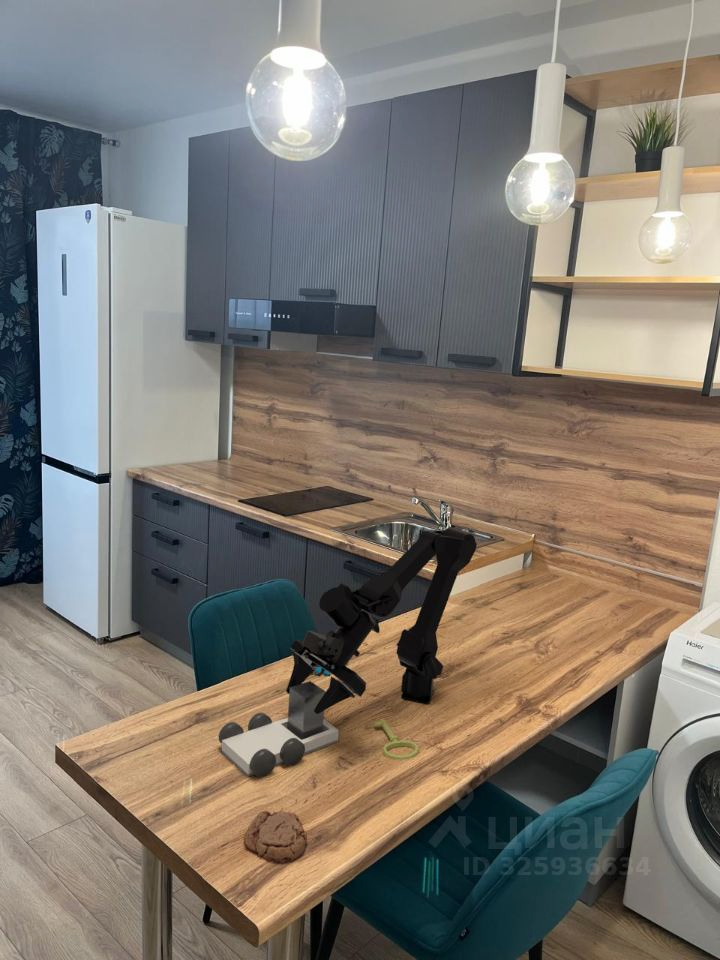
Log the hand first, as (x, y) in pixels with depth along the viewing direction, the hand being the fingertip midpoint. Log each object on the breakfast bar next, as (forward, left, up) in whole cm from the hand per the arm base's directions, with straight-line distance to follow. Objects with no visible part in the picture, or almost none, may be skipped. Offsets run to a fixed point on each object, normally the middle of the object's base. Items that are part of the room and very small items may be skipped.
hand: (301, 702), depth 142 cm
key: (-18, -7, -9) cm, 21 cm away
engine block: (-1, -1, -8) cm, 8 cm away
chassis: (+2, +4, -8) cm, 9 cm away
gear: (+5, -32, -8) cm, 33 cm away
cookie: (-7, +28, -9) cm, 30 cm away
